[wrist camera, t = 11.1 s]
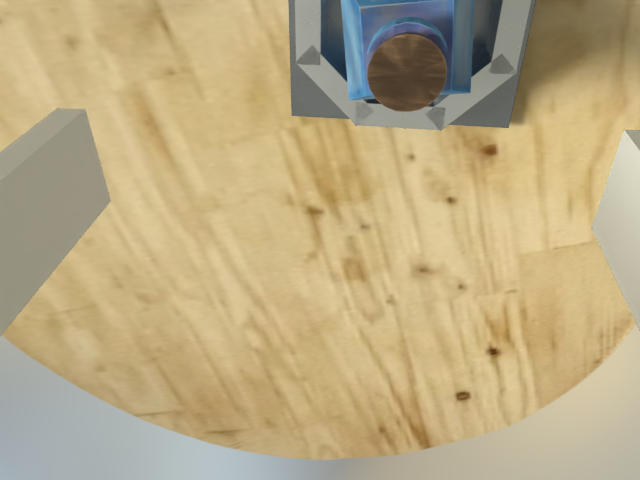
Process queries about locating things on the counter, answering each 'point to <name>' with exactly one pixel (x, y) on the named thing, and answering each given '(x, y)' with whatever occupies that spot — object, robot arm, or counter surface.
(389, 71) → the perfume bottle
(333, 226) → the counter surface
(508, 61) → the flange
